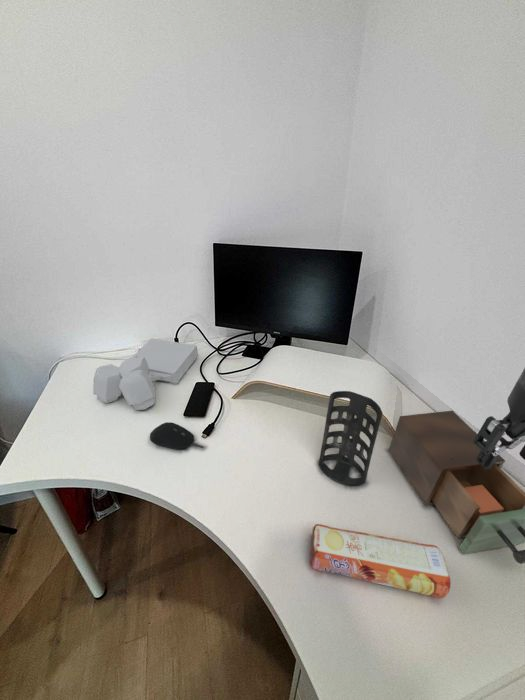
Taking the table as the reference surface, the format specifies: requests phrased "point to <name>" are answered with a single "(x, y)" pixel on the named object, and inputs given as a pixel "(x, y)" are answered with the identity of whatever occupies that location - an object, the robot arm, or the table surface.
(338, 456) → the holder
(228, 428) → the table surface
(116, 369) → the game console
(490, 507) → the block
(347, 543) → the snack package
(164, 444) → the gaming mouse
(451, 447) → the cabinet
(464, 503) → the drawer
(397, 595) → the table surface
